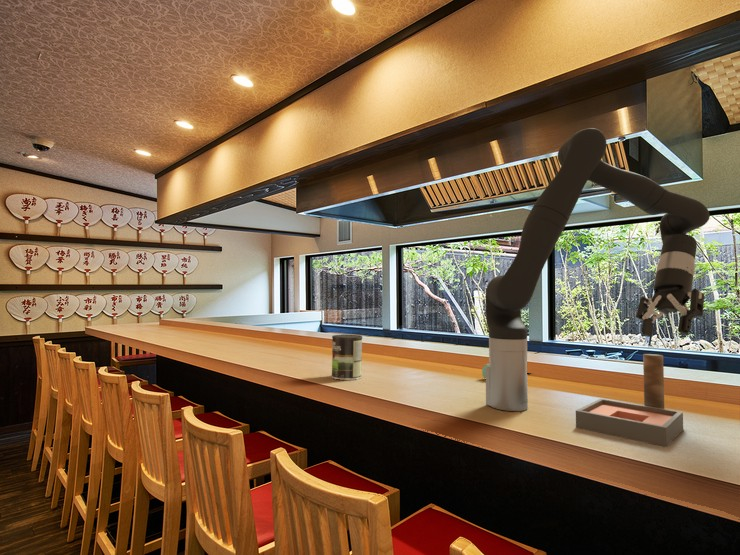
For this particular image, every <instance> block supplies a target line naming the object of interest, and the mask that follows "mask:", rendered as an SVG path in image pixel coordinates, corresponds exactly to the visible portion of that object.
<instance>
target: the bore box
mask: <svg viewBox="0 0 740 555" xmlns="http://www.w3.org/2000/svg"><path fill="white" fill-rule="evenodd" d="M575 428H577V429H583V430H586V431H592V432H596V433H601V434H606V435H609V436H614V437H619V438H624V439H629V440H634V441H638V442H643V443H647V444H652V445H657V446H661V447H665V448H667V447H668V446H669V445H670V444H671V443H672V442H673V441H674V440H675V439H676V437H678V435H679V434H680V433H681V432H682V431H683V430H684V411H679V410H678V411H677V410H673V409H666V408H664V409H661V408H655V407H649V406H644V404H643V405H641V404H637V403H636V404H635V403H631V402H630V403H629V402H624V401H617V400H611V399H606V398H599V399H597V400H595V401H593V402H591V403H589V404H587V405H585V406H582V407H580V408H579V409H576V410H575Z"/></svg>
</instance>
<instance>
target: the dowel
mask: <svg viewBox="0 0 740 555" xmlns="http://www.w3.org/2000/svg"><path fill="white" fill-rule="evenodd" d="M642 356H643V357H642V358H643V362H642V363H643V366H642V367H643V402H644V403H643V406H649V407H655V408H661V409H665V379H664V378H665V372H664V355H663V354H654V353H653V354H652V353H643V354H642Z"/></svg>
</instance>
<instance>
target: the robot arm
mask: <svg viewBox="0 0 740 555" xmlns="http://www.w3.org/2000/svg"><path fill="white" fill-rule="evenodd" d="M606 152H607V139H606V136H605V135H604V133H603V132H602V131H601V130H600V129H597V128H594V127H588V128H585V129H581V130H579V131H577V132H575V133H574V134H573V135H572V136H571V137H570V138H568V139H567V140H566V141H565V142H564V143H563V144H562V145H560V148H559V150H558V151H557V160H558V163H559V165H560V168H559V170H558V172H557V173H556V174H555V176H554V177H553V179H552V180H551V181H550V182H549V184H548V185H547V186H546V188H545V189H544V190H543V192H541V194H540V195H539V197H538V198H537V200H536V201H535V203H534V204H533V206H532V207H531V210H530V212H529V214H528V215H527V218H526V219H525V221H524V224H523V227H522V230H521V235H520V241H519V247H518V250H517V253H516V255H515V257H514V259H513V260H512V262H511V264H510V265H509V267H508V269H507V271H506V272H505V273H504V274H501V275H498V276H496V277H493V278H492V279H491V280H490V281H489V282H488V284H487V285H486V290H485V319H486V326H487V330H488V352H489V353H488V364H489V367H486V380H485V405H486V406H489V407H492V408H493V409H497V410H502V411H511V412H522V411H526V410H528V406H529V405H528V404H529V402H528V401H529V399H528V398H529V397H528V390H529V389H528V386H529V384H528V382H529V381H528V377H529V376H528V375H529V374H527V361H528V329H527V327H526V326H525V324H524V323H523V320H522V310H523V309H524V308H525V307H526V306H527V305H528V304H530V303H529V302H530V301H531V299H532V297H533V295H534V292H535V289H536V287H537V285H538V281H539V279H540V276H541V273H542V271H543V269H544V267H545V265H546V264H547V262H548V259H549V257H550V256H551V254H552V252H553V250H554V248H555V246H556V244H557V242H558V240H559V239H560V237H561V235H562V233H563V231H564V230H565V228H566V225H567V223H568V222H569V219H570V217H571V214H572V212H573V211H574V209H575V207H576V205H577V203H578V200H579V199H580V196H581V194H582V191H583V189H584V187H585V186H586V184H587V182H588V181H589V182H591V183H594V184H595V185H598V186H600V187H602V188H605V189H606V190H609V191H610V192H612V193H614V194H616V195H618V196H620V197H622V198H623V199H625V200H626V201H628V202H629V203H631V204H632V205H633V206H634V207H635V206H636V207H637V208H638V209H639V210H641V211H643V212H645V213H646V214H648V215H650V216H654V215H655V216H657V215H659V214H664V215H663V216H662V217H661V219H660V222H659V232H660V239H661V243H662V246H661V250H660V256H659V259H658V262H657V266H656V270H655V277H654V283H653V292H654V294H652V297H645V296H642V297H640V298H639V299H640V300H639V303H638V308H637V311H636V314H635V317H636V319H637V320H638V319H639V321H642V324H641V325H642V326H641V329H640V330H641V333H642V334H643V336H645V337H646V338H647V337H650V338H651V337H652V335H653V330H654V324H655V323H654V322H655V321H656V320H657V319H658V318H661V317H662V316H663V315H664V314H670V313H679V314H681V316H679V321H678V327H677V331H678V333H680V334H682V335H683V336H686V335H688V334H689V333H690V331H691V326H692V323H693V322H692V320H694V318H696V317H702V316H703V315H704V304H705V293H703V292H702V291H700V290H698V289H697V288H692V287H693V283H694V277H695V276H694V275H695V271H696V270H695V269H696V266H695V261H696V260H695V259H696V254H697V249H698V248H697V246H698V243H697V240H696V238H695V237H694V236H692V235H690V234H688V233H690V232H693V231H694V230H697V229H699V228H701V227H703V226H704V225H706V224H707V223H708V222H709V220H710V218H711V217H710V212H709V209H708V208H707V206H705V204H703V203H702V202H700V201H699V200H697V199H695V198H692V197H689V196H686V195H683V194H680V193H677V192H673V191H670V190H668V189H667V188H665V187H663V186H662V185H660V184H659V183H657V182H656V181H654V180H652V179H651V178H649V177H647V176H644V175H641V174H639V173H636V172H633V171H629V170H626V169H621V168H619V167H616V166H614V165H611V164H609V163H607V162H605V161H604V160H602V159H603V158H604V157H605V154H606ZM689 300H690V304H689V305H690V306H689V307H688V306H687V305H686V304H687V303H688V302H689ZM655 309H657V311H655Z"/></svg>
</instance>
